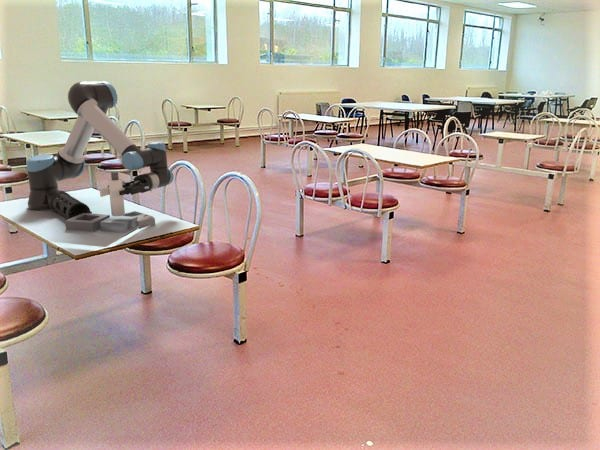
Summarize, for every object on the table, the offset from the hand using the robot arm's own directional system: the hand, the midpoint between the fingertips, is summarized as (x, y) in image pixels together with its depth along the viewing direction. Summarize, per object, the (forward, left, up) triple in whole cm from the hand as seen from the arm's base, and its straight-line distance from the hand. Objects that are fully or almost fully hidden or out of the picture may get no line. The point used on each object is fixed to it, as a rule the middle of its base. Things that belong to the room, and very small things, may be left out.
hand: (106, 193), depth 198 cm
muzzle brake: (-23, -28, -13) cm, 39 cm away
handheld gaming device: (-17, +2, -17) cm, 24 cm away
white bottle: (-5, +1, -10) cm, 11 cm away
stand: (-5, +1, -17) cm, 17 cm away
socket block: (-4, -12, -17) cm, 21 cm away
